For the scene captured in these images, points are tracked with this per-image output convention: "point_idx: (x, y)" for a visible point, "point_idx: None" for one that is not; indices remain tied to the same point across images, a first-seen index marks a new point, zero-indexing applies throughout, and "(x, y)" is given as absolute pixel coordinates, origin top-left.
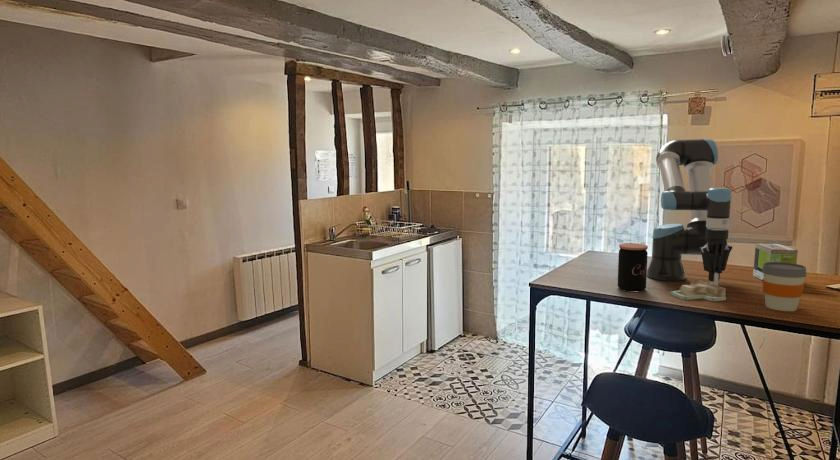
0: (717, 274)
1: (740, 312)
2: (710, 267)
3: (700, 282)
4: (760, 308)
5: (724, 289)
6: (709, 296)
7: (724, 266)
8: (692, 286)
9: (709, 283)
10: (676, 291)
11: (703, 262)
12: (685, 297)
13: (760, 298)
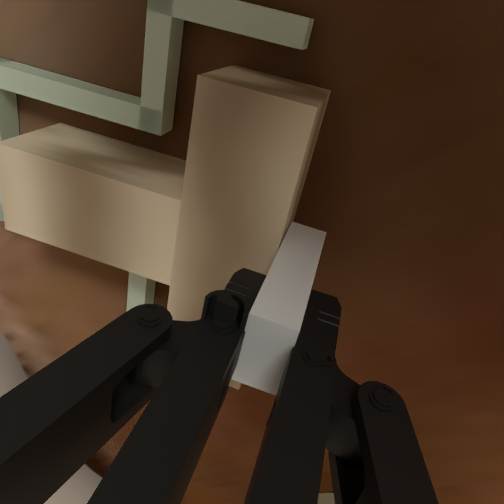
0: (263, 380)
1: (117, 448)
2: (122, 413)
3: (229, 178)
4: (248, 486)
5: (231, 379)
6: (142, 303)
7: (354, 501)
8: (54, 220)
9: (272, 249)
10: (21, 90)
11: (30, 386)
12: (3, 218)
13: (460, 456)
